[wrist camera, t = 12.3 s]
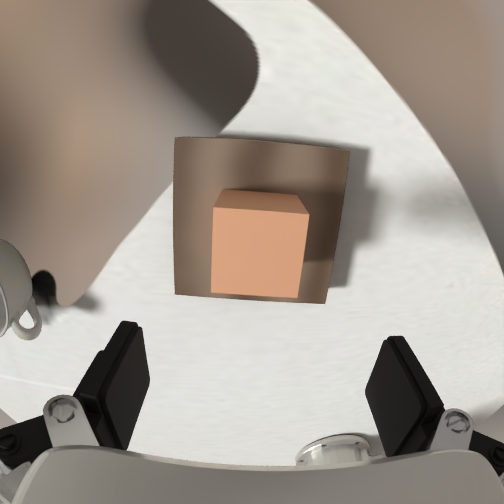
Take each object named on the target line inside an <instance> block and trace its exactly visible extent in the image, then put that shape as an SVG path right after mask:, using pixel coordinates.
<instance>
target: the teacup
mask: <svg viewBox="0 0 504 504" xmlns="http://www.w3.org/2000/svg"><path fill="white" fill-rule="evenodd" d="M26 309H27V310H28V312H29V313H30V315H31V317H32V319H33V321H34V327H33V328H31V329H26V328H24V327H22V326H21V325H20V324H19V319H20V317H21V316H22V315H23V313H24V312H25V311H26ZM9 327H12V330H13V331H14V333H15V334H16V335H17V336H18V337H19V338H21V339H23V340H33V339H35V338H36V337H37V336H38V335H39V334H40V332H41V328H42V320H41V316H40V314H39V311H38V309H37V308H36V306H35V299H34V297H33V296H32V280H31V276H30V272H29V269H28V267H27V264H26V263H25V260H24V259H23V257H22V256H21V254H20V253H19V251H18V250H17V249H16V248H15V247H14V246H12V245H11V244H10V243H8V242H7V241H5V240H2V239H0V337H2V336H3V335H4V334H5V332H6V331H7V329H8V328H9Z"/></svg>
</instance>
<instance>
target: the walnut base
mask: <svg viewBox="0 0 504 504" xmlns="http://www.w3.org/2000/svg"><path fill="white" fill-rule="evenodd" d="M349 152H350V151H346V150H342V149H337V148H329V147H322V146H314V145H305V144H296V143H286V142H276V141H264V140H250V139H234V138H212V137H177V138H175V144H174V177H173V249H174V282H175V294H177V295H188V296H200V297H213V298H226V299H240V300H256V301H273V302H293V303H315V304H325V302H326V297H327V292H328V287H329V282H330V277H331V272H332V266H333V261H334V255H335V250H336V244H337V238H338V232H339V226H340V219H341V213H342V206H343V199H344V192H345V185H346V177H347V169H348V161H349ZM222 189H224V190H240V191H255V192H268V193H280V194H291V195H297V196H298V198H299V199H300V201H301V202H302V204H303V205H304V207H305V208H306V210H307V212H308V213H309V221H308V229H307V236H306V243H305V250H304V257H303V264H302V271H301V278H300V284H299V290H298V297H297V298H289V297H271V296H255V295H239V294H225V293H212V292H211V266H212V231H213V207H214V205H215V203H216V201H217V199H218V197H219V195H220V193H221V191H222Z"/></svg>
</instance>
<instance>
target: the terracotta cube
mask: <svg viewBox="0 0 504 504" xmlns="http://www.w3.org/2000/svg"><path fill="white" fill-rule="evenodd" d="M308 221H309V213H308V212H307V210H306V208H305V207H304V205H303V204H302V202H301V201H300V199H299V198H298V196H297V195H291V194H280V193H268V192H255V191H240V190H224V189H222V191H221V193H220V195H219V197H218V199H217V201H216V203H215V205H214V207H213V231H212V266H211V292H212V293H225V294H239V295H255V296H271V297H289V298H297V297H298V290H299V284H300V278H301V271H302V264H303V257H304V250H305V243H306V236H307V229H308Z"/></svg>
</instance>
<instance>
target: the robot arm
mask: <svg viewBox="0 0 504 504" xmlns="http://www.w3.org/2000/svg"><path fill="white" fill-rule="evenodd" d="M149 383H150V376H149V370H148V364H147V358H146V351H145V345H144V338H143V331H142V327H139V326H138V324H137V323H136V322H130V321H122V322H121V323H120V324H119V326H118V328H117V329H116V331H115V333H114V334H113V336H112V338H111V339H110V341H109V343H108V344H107V346H106V348H105V349H104V351H102V350H101V351H99V352H98V353H97V355H96V357H95V358H94V360H93V362H92V363H91V365H90V367H89V368H88V370H87V372H86V373H85V375H84V377H83V379H82V380H81V382H80V384H79V385H78V387H77V389H76V391H75V392H74V394H73V396H70V395H58V396H55V397H53V398H51V399H50V400H48V401H47V403H46V404H45V405H44V409H43V415H42V416H39V417H36V418H33V419H30V420H27V421H24V422H21V423H18V424H15V425H11V426H8V427H5V428H2V429H0V504H504V444H503V443H502V442H499V441H497V440H494V439H492V438H490V437H488V436H485V435H483V434H481V433H479V432H476V431H474V430H473V421H472V419H471V417H470V416H469V415H468V414H467V413H466V412H464V411H462V410H460V409H448V410H446V411H445V409H444V407H443V406H444V404H443V402H442V400H441V399H440V397H439V395H438V393H437V392H436V390H435V388H434V386H433V385H432V383H431V381H430V379H429V378H428V376H427V374H426V373H425V371H424V369H423V368H422V366H421V364H420V363H419V361H418V359H417V358H416V356H415V354H414V353H413V351H412V349H411V348H410V346H409V345H408V343H407V341H406V340H405V338H404V337H403V336H389V337H388V338H387V340H384V341H383V344H382V346H381V349H380V352H379V355H378V357H377V360H376V363H375V365H374V368H373V371H372V373H371V376H370V378H369V381H368V383H367V386H366V389H365V395H366V398H367V401H368V404H369V406H370V409H371V412H372V415H373V418H374V421H375V424H376V427H377V429H378V432H379V435H380V438H381V441H382V444H383V447H384V450H385V453H386V456H387V458H383V455H382V454H380V455H375V456H370V455H368V453H369V451H370V447H369V444H368V442H367V440H366V439H364V438H363V437H360V436H355V435H338V436H332V437H328V438H324V439H321V440H319V441H316V442H314V443H312V444H310V445H308V446H306V447H305V448H304V449H302V450H301V451H300V452H299V453H298V455H297V457H296V466H249V465H230V464H216V463H205V462H196V461H188V460H180V459H173V458H166V457H160V456H153V455H147V454H142V453H137V452H131V451H126V450H127V448H128V445H129V442H130V439H131V436H132V433H133V430H134V427H135V424H136V422H137V419H138V416H139V413H140V410H141V407H142V404H143V401H144V399H145V396H146V393H147V390H148V387H149Z"/></svg>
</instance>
